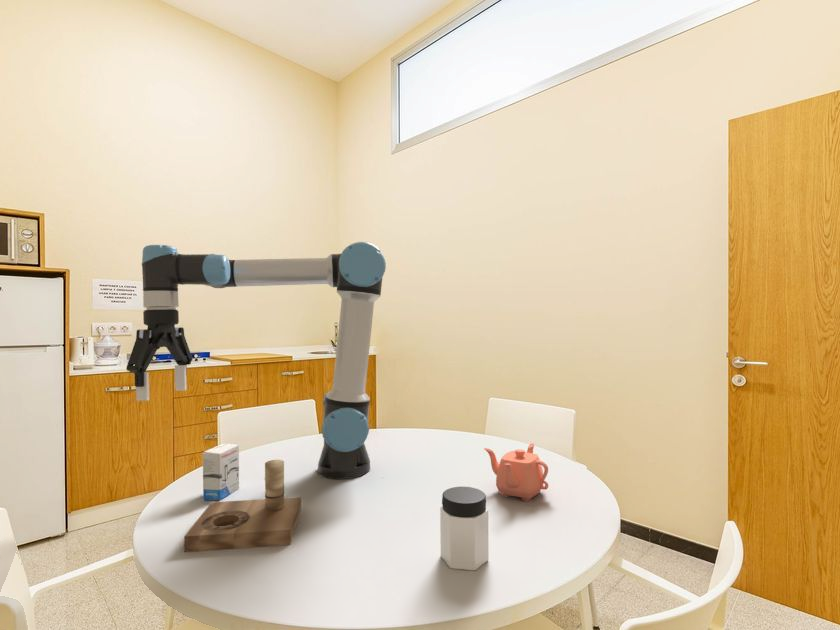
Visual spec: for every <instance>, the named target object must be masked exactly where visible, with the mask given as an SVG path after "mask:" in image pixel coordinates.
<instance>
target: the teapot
mask: <svg viewBox="0 0 840 630" xmlns="http://www.w3.org/2000/svg"><path fill="white" fill-rule="evenodd" d="M534 447H535V444H534V443H530V444H529V445H528V447H527V449H526V450H524V449H521V448H519V449H515V450H511V451H509V452H506V453H505V454H503V455H502V456H501V459H500V461H499V462H498V460H497V457H496V454H495V452H494V451H493V450H492V449H490V448H487V447H484V448H483V450H484V451H486V452H487V454H488V455H489V458H490V459H489V460H490V465H491V471H492V472H493V473H494V474H495V476H496V477H495V478H496V479H495V486H496V488H497V490H498V493H500V494H502V496H503V497H511V496H512V497H517V498H522V499H521V500H522V501H524V502H525V501H526V502H531V501H532V498H533V497H535V496H537V495H538V494H539V493H540V492H541V491H543V490H547V489H549V483H548V482H547V481H545V480H546V478H547V476H548V473H549V466H548V465H547V463H546V462H545V461H543V460H540V457H539V455H538V454H536V453H534ZM543 469H544V470H543Z"/></svg>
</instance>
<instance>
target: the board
mask: <svg viewBox="0 0 840 630" xmlns="http://www.w3.org/2000/svg"><path fill="white" fill-rule="evenodd" d="M301 512H302V497H301V496H298V497H284V508H283V509H281V510H279V511H267V510H266V509H265V498H262V499H247V500H246V499H245V500H244V499H243V500H229V501H228V500H227V501H212V502H210V504H209V505H208V506H207V508H205V510H204V511H203V512H202V514H201V515H200V516H199V517H198V518H197V520H196V521H195V522H194V524H193V525H192V526H191V527H190V529H189V530H188V531H187V532H186V534H185V535H184V536H183V537H184V539H183V540H184V541H183V545H184V547H183V549H184V551H183V552H184V553H188V552H190V553H191V552H201V551H214V550H215V551H216V550H217V551H218V550H231V549H233V550H234V549H244V548H245V549H246V548H258V547H259V548H260V547H261V548H262V547H272V546H273V547H274V546H285V545H286V546H287V545H291V544H292V542H293V537H294V535H295V531H296V528H297V525H298V522H299V518H300V514H301Z"/></svg>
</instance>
